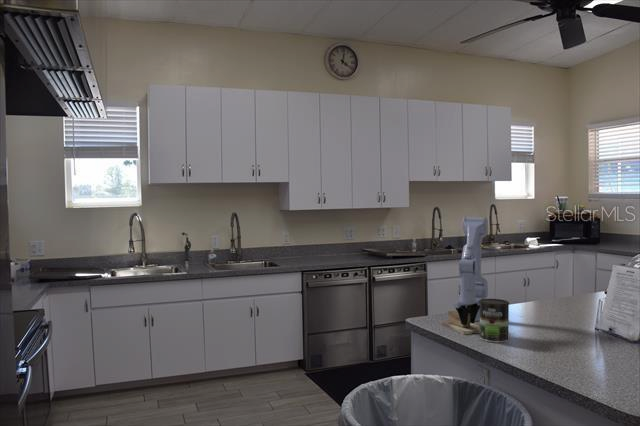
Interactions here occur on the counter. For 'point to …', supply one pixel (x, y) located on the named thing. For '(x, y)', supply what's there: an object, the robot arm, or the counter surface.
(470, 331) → the board
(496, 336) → the coffee can
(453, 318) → the block
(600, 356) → the counter surface
